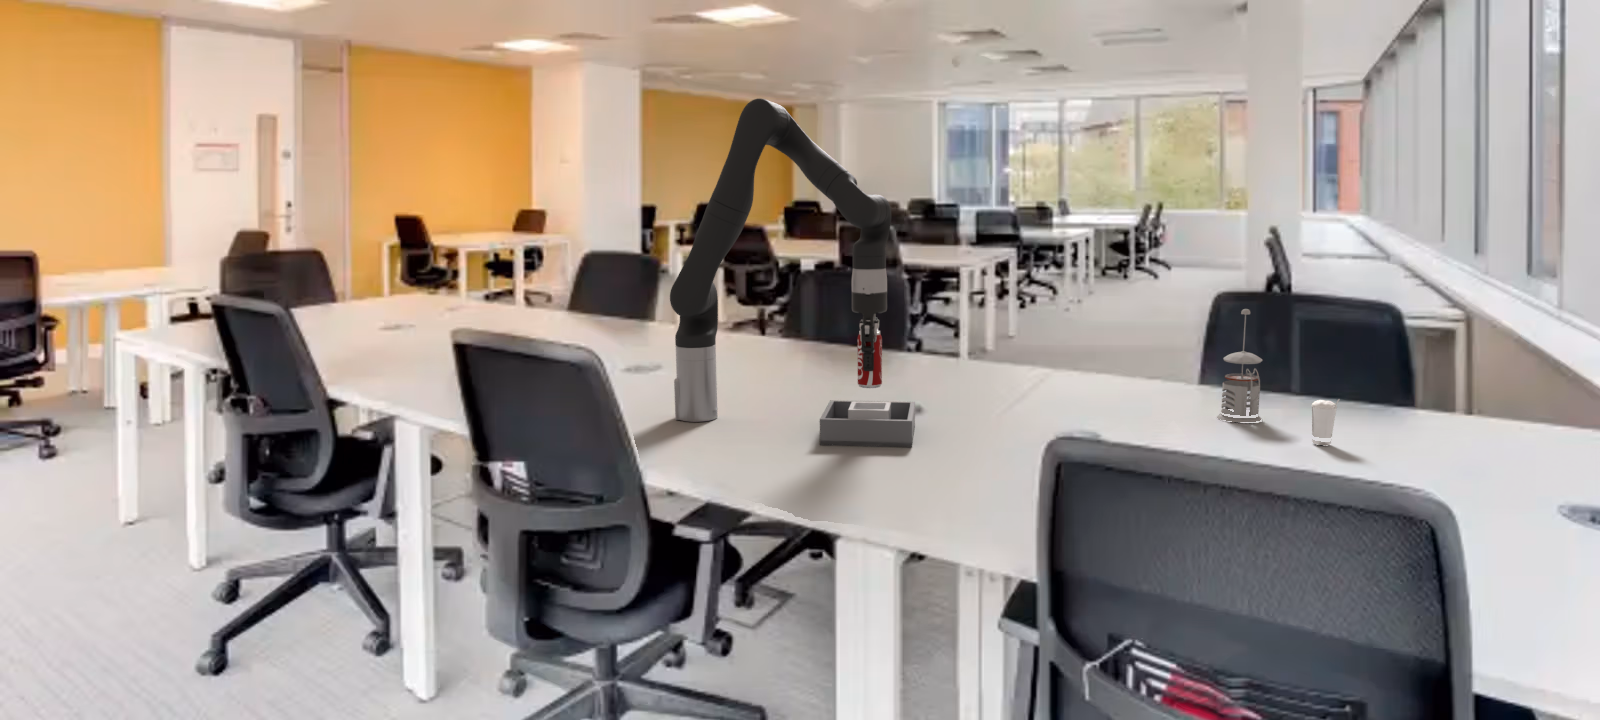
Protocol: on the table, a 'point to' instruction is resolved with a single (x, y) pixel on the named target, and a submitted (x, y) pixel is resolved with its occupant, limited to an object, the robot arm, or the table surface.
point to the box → (868, 423)
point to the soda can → (874, 377)
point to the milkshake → (1323, 420)
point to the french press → (1241, 386)
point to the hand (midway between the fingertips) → (869, 368)
